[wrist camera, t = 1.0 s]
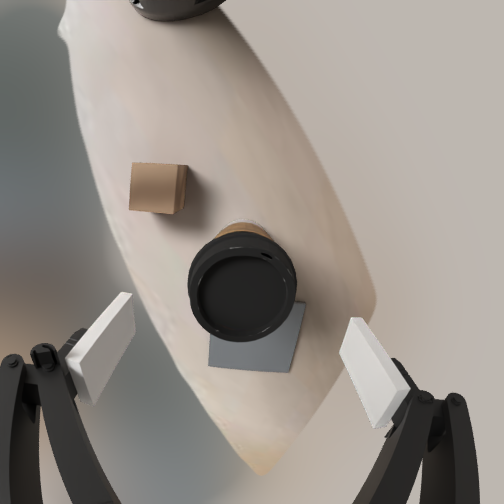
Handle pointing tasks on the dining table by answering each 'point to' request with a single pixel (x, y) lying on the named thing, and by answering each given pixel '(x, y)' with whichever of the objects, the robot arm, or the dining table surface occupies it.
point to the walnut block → (157, 187)
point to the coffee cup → (241, 284)
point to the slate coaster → (260, 348)
